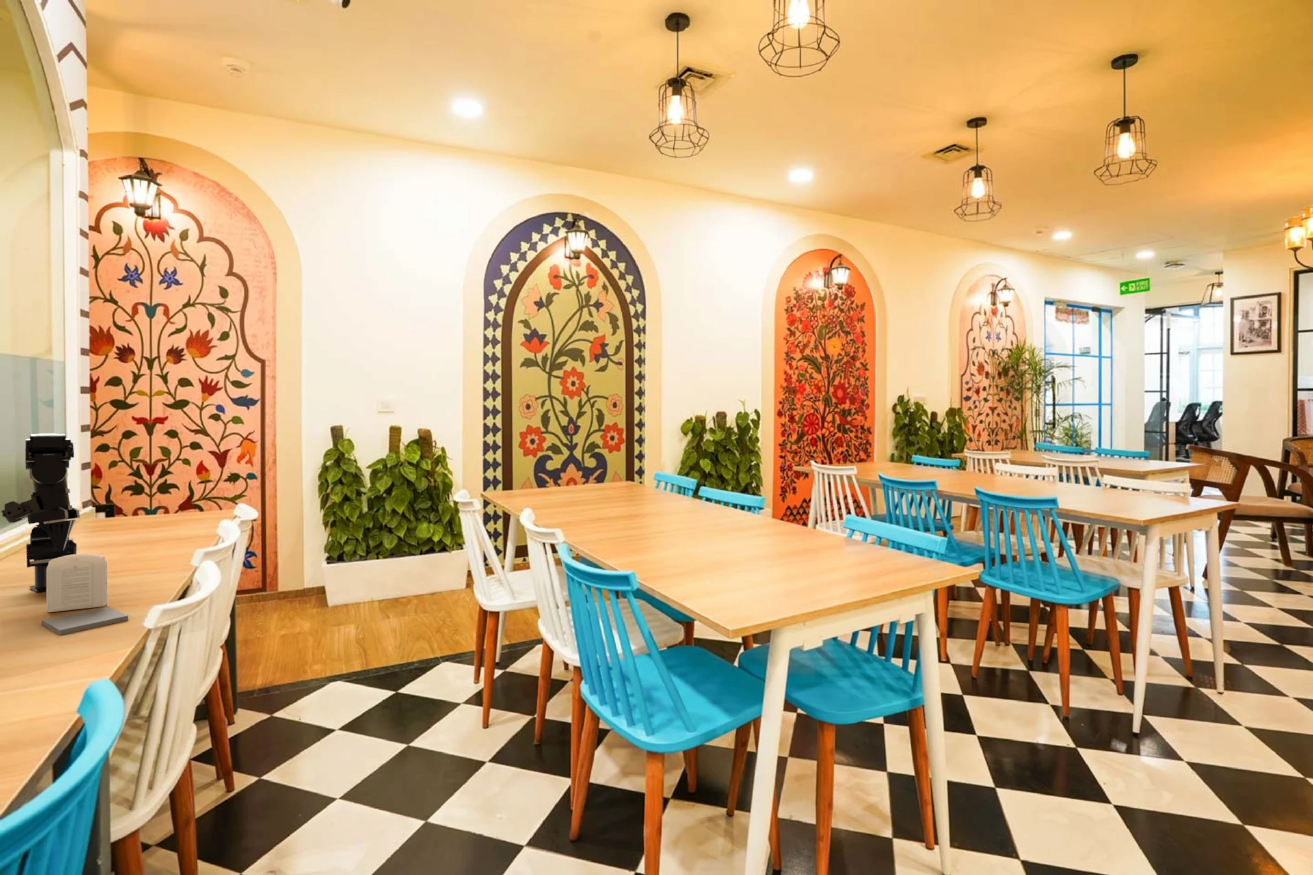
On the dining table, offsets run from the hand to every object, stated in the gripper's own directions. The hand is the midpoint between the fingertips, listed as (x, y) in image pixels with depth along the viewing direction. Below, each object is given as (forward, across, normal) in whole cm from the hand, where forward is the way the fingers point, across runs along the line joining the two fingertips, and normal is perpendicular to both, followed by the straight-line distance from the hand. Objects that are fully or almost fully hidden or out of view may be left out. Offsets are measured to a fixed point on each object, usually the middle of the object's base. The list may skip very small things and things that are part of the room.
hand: (60, 551), depth 149 cm
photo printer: (+14, +10, +3) cm, 17 cm away
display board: (+15, +23, +6) cm, 29 cm away
